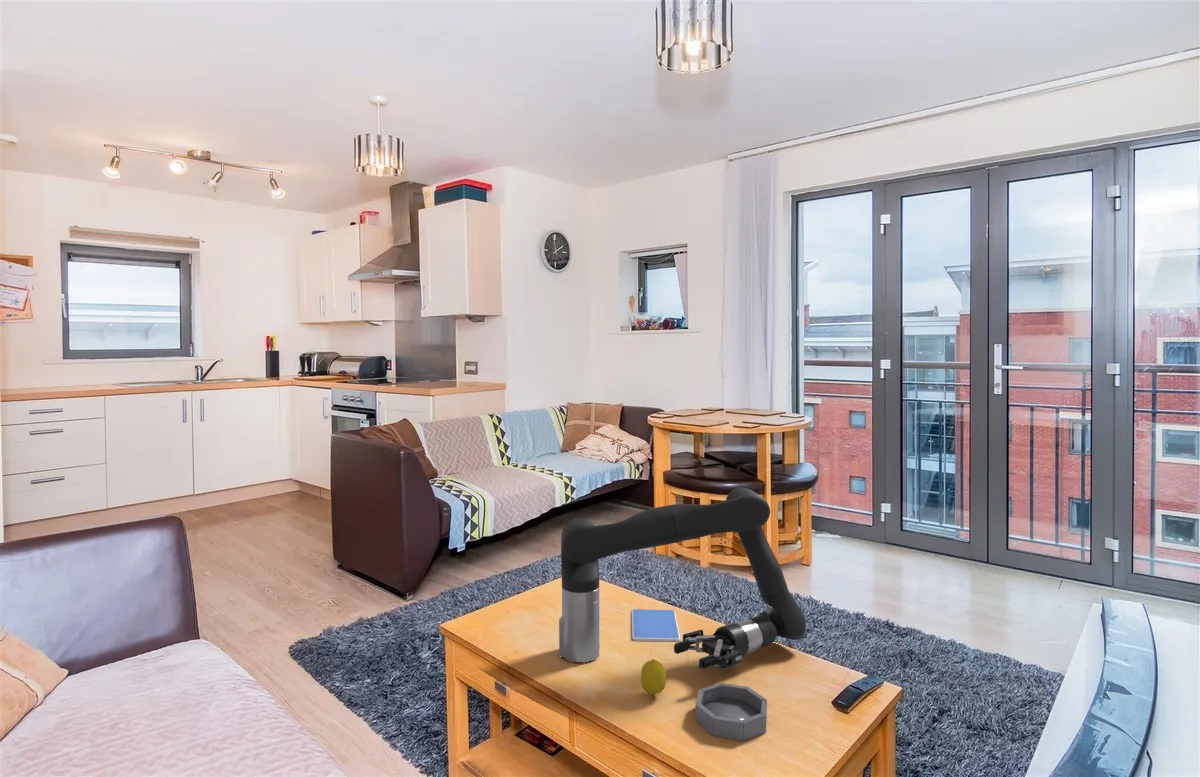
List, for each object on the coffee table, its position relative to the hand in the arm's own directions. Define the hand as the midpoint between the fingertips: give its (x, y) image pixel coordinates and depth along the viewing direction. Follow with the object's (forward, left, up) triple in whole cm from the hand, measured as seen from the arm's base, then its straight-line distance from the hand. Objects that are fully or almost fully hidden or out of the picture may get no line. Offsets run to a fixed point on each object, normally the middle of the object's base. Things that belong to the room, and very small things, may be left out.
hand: (687, 656), depth 141 cm
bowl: (+11, -11, -6) cm, 17 cm away
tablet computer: (-13, +28, -7) cm, 31 cm away
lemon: (-6, -7, -6) cm, 11 cm away
